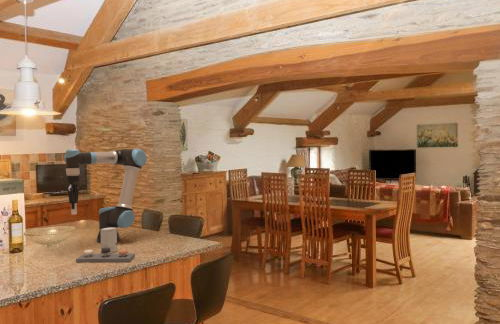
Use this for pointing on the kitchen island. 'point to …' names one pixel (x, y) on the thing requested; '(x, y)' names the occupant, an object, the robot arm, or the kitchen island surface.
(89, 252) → the button cream
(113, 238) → the skincare box
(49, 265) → the kitchen island surface
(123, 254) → the button terracotta
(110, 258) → the button board
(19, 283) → the kitchen island surface
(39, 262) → the kitchen island surface
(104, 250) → the button black
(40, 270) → the kitchen island surface
